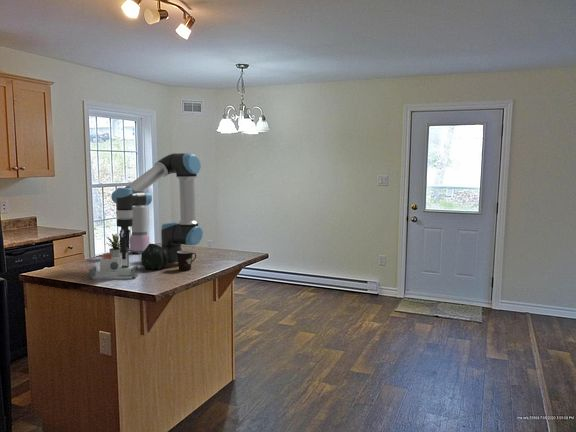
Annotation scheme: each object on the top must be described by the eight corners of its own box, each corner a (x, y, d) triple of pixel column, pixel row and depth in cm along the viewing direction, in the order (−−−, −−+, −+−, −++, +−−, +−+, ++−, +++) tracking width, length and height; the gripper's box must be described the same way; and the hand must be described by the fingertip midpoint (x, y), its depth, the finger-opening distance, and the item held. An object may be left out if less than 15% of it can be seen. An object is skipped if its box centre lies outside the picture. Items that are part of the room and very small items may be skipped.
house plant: (98, 258, 271) (97, 231, 270) (120, 255, 280) (120, 230, 279) (106, 261, 261) (106, 234, 259) (129, 259, 270) (129, 232, 268)
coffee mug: (179, 272, 238) (179, 253, 237) (175, 268, 246) (175, 251, 245) (200, 270, 244) (200, 252, 243) (195, 267, 251) (195, 249, 250)
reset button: (112, 260, 234) (112, 253, 233) (110, 261, 230) (110, 254, 229) (104, 260, 233) (104, 253, 233) (102, 261, 229) (102, 254, 229)
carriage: (133, 272, 227) (133, 246, 226) (131, 275, 221) (130, 248, 220) (119, 272, 226) (119, 246, 225) (116, 275, 220) (116, 248, 219)
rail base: (137, 275, 228) (137, 266, 228) (135, 278, 221) (135, 268, 221) (93, 276, 225) (93, 266, 224) (88, 279, 218) (88, 269, 218)
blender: (142, 254, 285) (142, 205, 282) (125, 253, 288) (125, 204, 285) (155, 250, 300) (155, 204, 297) (139, 249, 303) (138, 203, 300)
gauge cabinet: (121, 271, 236) (121, 256, 235) (118, 274, 230) (118, 259, 229) (103, 271, 235) (103, 257, 234) (100, 274, 228) (99, 259, 228)
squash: (177, 257, 251) (161, 237, 251) (165, 263, 236) (147, 241, 237) (160, 272, 254) (144, 252, 255) (147, 279, 240) (130, 257, 240)
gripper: (120, 216, 228) (121, 261, 230) (112, 220, 213) (113, 268, 215) (135, 217, 229) (135, 261, 231) (129, 220, 214) (129, 267, 216)
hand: (125, 264), depth 223 cm, fingers closed on carriage, 2 cm apart
